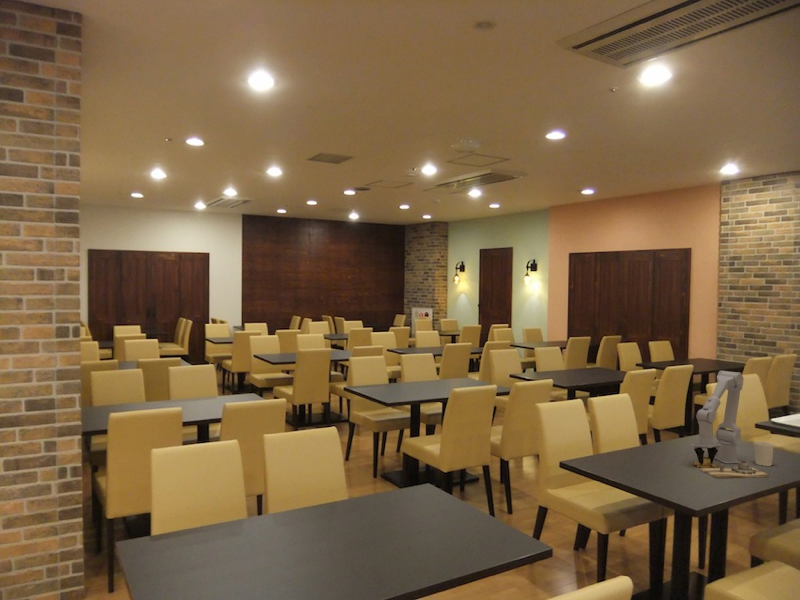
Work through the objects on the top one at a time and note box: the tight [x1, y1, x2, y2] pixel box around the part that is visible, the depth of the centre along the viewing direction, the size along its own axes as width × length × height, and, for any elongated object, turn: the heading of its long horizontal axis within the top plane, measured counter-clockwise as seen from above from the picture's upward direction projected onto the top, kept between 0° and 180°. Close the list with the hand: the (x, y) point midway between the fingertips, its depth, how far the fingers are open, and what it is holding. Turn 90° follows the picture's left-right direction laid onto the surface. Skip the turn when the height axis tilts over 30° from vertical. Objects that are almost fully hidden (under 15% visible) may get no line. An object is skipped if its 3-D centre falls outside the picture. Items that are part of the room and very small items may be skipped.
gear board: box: [699, 459, 770, 479], centre depth 265 cm, size 12×25×6 cm, turn 95°
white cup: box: [753, 441, 774, 467], centre depth 280 cm, size 8×8×10 cm
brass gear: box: [693, 456, 718, 468], centre depth 276 cm, size 10×10×4 cm
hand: (705, 463), depth 276 cm, fingers closed on brass gear, 4 cm apart
